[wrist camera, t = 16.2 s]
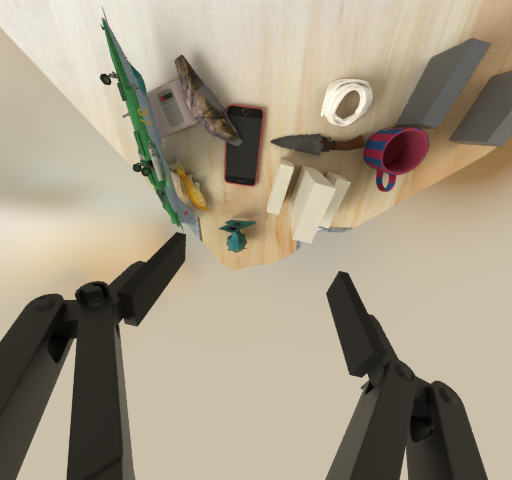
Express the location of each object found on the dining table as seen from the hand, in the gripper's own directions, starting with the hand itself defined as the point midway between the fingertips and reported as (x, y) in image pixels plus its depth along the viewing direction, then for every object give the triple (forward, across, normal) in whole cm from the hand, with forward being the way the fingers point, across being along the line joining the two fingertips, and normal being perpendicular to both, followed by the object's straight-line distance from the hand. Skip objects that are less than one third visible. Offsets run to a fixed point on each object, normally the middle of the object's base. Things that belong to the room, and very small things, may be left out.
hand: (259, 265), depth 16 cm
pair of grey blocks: (+28, +25, +19) cm, 42 cm away
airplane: (+20, -25, 0) cm, 32 cm away
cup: (+28, +19, +10) cm, 35 cm away
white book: (+28, +7, +1) cm, 29 cm away
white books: (+28, +7, +1) cm, 29 cm away
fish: (+27, -15, -3) cm, 31 cm away
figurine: (+26, -8, -10) cm, 29 cm away
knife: (+28, +6, +9) cm, 31 cm away
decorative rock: (+27, -13, +12) cm, 32 cm away
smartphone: (+28, -7, +5) cm, 30 cm away
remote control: (+28, -23, +8) cm, 37 cm away
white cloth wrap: (+28, +9, +16) cm, 34 cm away
